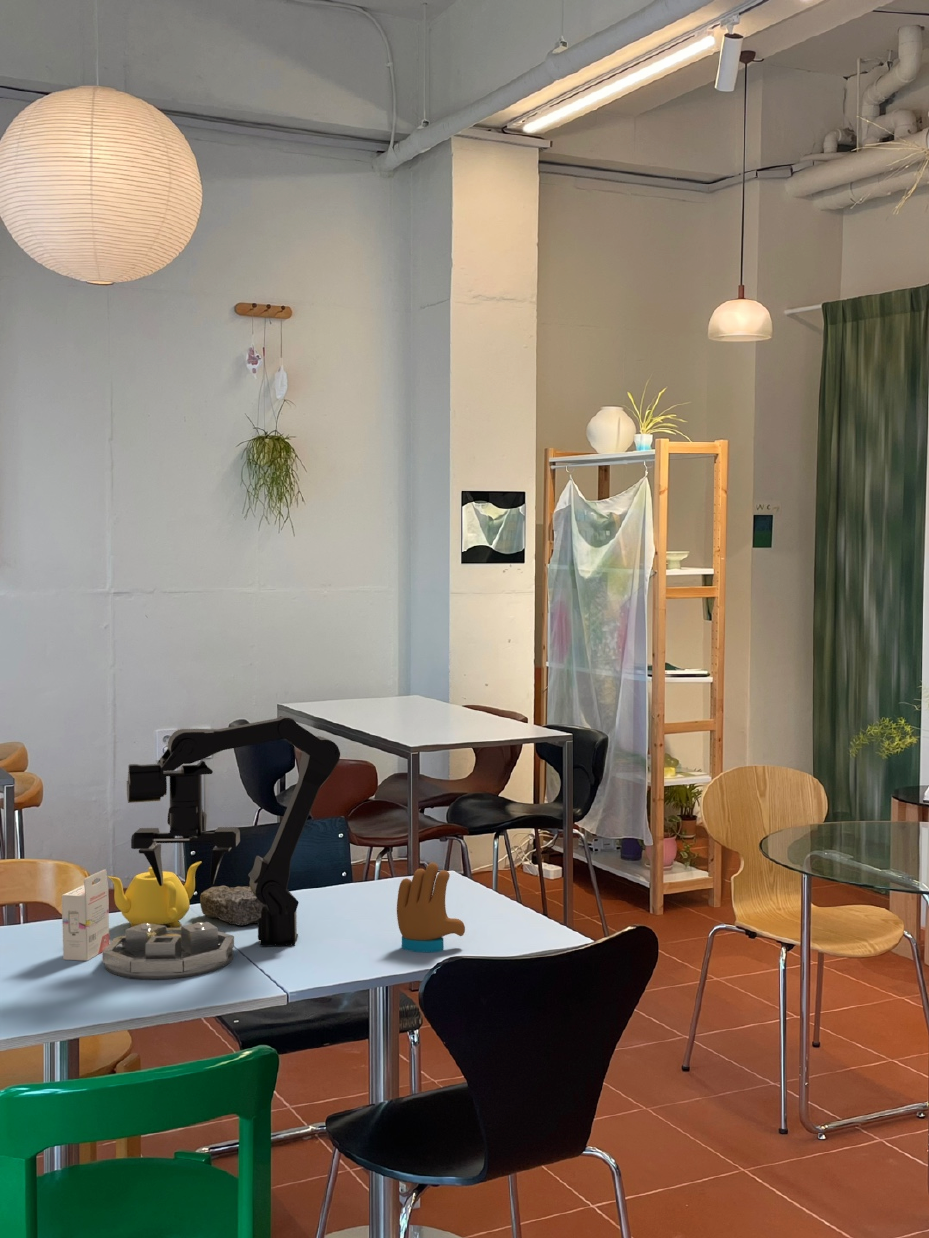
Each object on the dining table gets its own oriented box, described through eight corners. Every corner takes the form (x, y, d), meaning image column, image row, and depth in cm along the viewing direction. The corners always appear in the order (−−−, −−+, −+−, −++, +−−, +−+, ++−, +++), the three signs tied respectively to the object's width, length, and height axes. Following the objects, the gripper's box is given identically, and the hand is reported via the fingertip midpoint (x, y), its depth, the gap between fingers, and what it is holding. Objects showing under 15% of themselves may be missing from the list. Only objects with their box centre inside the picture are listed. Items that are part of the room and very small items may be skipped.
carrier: (241, 942, 233) (241, 911, 233) (222, 978, 211) (222, 944, 211) (122, 944, 232) (121, 912, 232) (90, 980, 210) (90, 946, 210)
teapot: (127, 943, 233) (126, 882, 233) (93, 927, 244) (92, 869, 244) (222, 924, 246) (221, 866, 246) (185, 910, 257) (185, 854, 257)
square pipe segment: (181, 958, 219) (180, 935, 219) (175, 966, 214) (174, 943, 214) (152, 958, 219) (151, 936, 219) (145, 967, 214) (145, 944, 214)
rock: (285, 922, 248) (252, 909, 261) (285, 890, 248) (252, 878, 261) (225, 930, 241) (194, 916, 253) (226, 897, 241) (195, 884, 253)
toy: (467, 944, 231) (466, 863, 230) (453, 955, 224) (453, 871, 224) (406, 939, 235) (406, 859, 234) (391, 949, 228) (391, 867, 228)
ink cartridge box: (85, 946, 231) (84, 867, 231) (110, 948, 230) (109, 868, 230) (61, 960, 223) (60, 877, 222) (87, 961, 222) (86, 878, 221)
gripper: (243, 791, 236) (244, 874, 236) (143, 792, 235) (144, 875, 235) (235, 801, 224) (235, 888, 225) (129, 802, 224) (130, 889, 224)
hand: (186, 885), depth 228 cm, fingers open, 9 cm apart
